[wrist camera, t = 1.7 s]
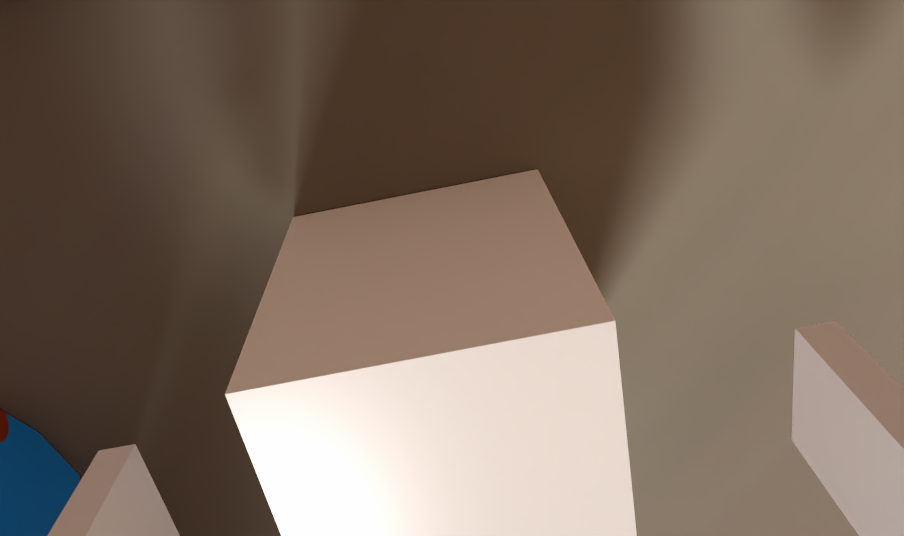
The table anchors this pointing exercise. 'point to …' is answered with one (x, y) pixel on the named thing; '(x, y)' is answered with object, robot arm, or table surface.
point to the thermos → (31, 480)
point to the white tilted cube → (436, 373)
